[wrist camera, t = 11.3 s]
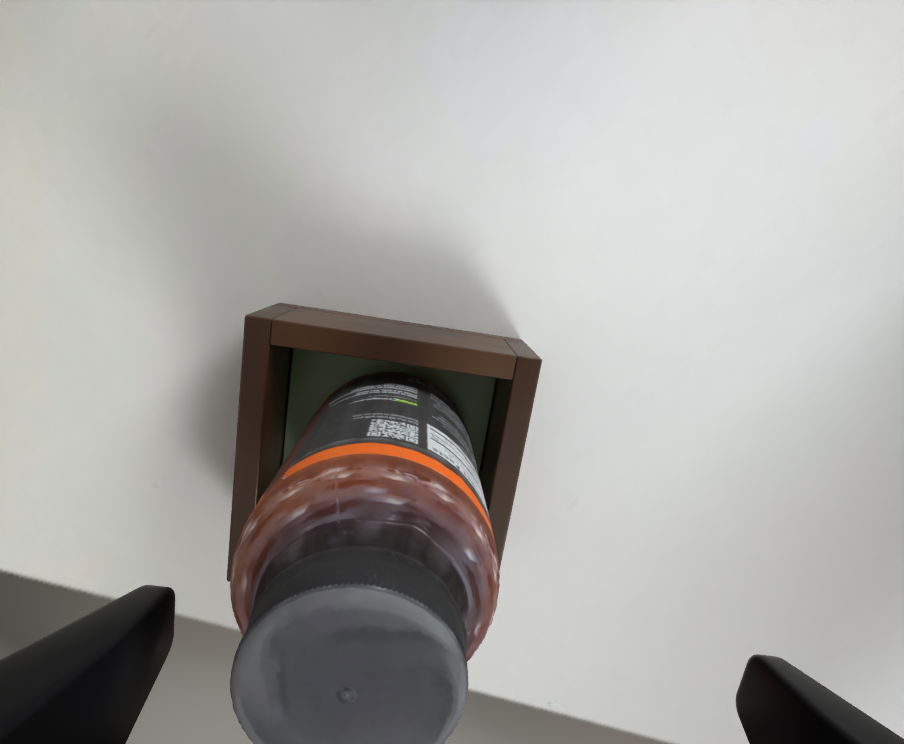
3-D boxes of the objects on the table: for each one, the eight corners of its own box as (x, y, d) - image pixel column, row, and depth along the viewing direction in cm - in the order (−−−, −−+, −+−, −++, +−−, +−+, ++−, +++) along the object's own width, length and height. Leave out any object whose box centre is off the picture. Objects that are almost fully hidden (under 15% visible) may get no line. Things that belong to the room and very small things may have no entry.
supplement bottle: (347, 536, 20) (251, 875, 9) (285, 399, 19) (87, 608, 8) (491, 486, 20) (567, 775, 9) (439, 343, 19) (454, 482, 8)
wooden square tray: (522, 339, 20) (542, 359, 16) (481, 552, 22) (491, 611, 18) (278, 302, 19) (244, 314, 15) (259, 526, 21) (226, 582, 18)
